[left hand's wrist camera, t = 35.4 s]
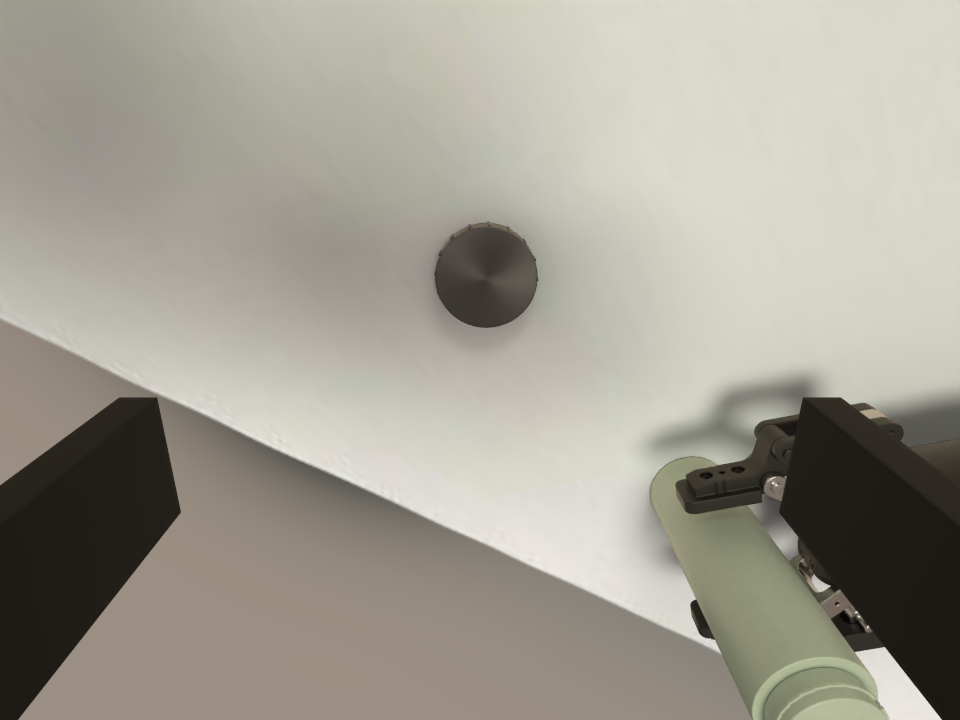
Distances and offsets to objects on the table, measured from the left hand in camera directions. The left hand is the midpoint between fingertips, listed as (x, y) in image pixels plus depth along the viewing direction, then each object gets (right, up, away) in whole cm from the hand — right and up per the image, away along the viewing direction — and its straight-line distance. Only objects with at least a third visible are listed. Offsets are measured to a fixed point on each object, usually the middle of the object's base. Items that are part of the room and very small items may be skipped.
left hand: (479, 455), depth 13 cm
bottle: (+13, -6, +26) cm, 30 cm away
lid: (0, +6, +20) cm, 21 cm away
